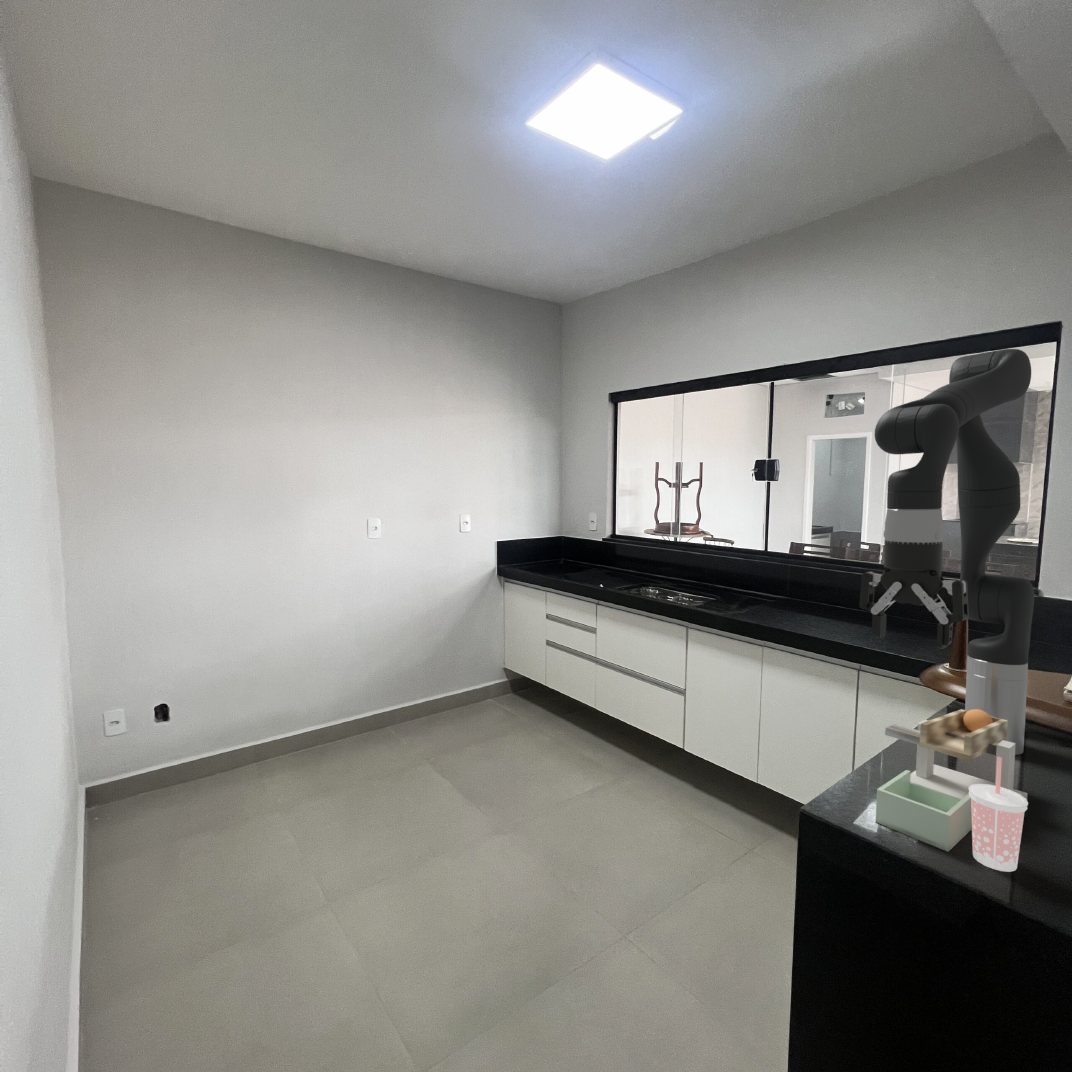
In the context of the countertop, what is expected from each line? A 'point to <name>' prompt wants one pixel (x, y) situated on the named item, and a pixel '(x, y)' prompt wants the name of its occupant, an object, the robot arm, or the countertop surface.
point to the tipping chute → (953, 735)
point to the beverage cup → (996, 824)
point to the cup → (923, 812)
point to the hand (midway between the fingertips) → (910, 642)
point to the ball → (976, 719)
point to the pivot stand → (958, 781)
